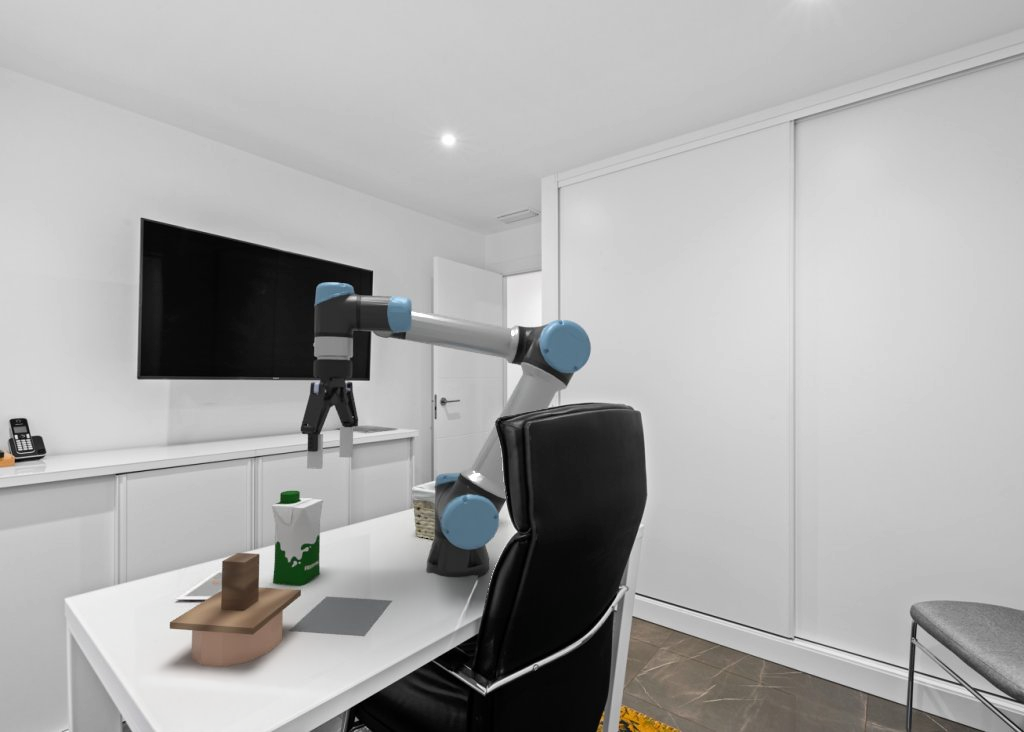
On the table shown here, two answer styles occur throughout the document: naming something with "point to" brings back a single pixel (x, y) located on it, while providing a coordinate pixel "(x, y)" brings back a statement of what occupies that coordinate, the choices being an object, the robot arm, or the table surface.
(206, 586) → the touchpad
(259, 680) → the table surface
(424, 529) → the storage basket
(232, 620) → the cover board
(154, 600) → the table surface
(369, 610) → the mat
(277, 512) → the milk carton
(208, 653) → the bowl
